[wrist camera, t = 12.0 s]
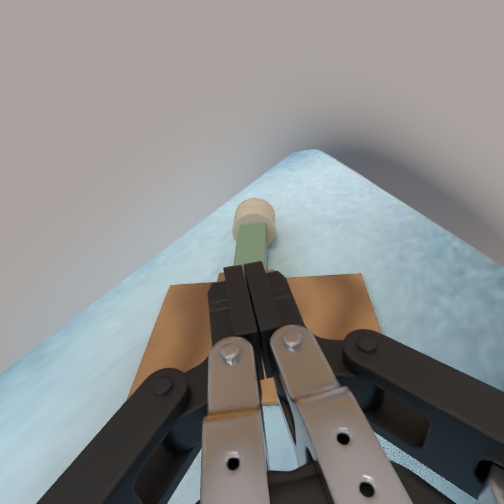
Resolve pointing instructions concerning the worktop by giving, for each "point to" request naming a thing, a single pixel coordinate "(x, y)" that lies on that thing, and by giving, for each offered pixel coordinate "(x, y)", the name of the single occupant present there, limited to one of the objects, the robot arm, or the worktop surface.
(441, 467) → the robot arm
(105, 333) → the worktop surface
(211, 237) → the worktop surface
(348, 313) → the brown flat board
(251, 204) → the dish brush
